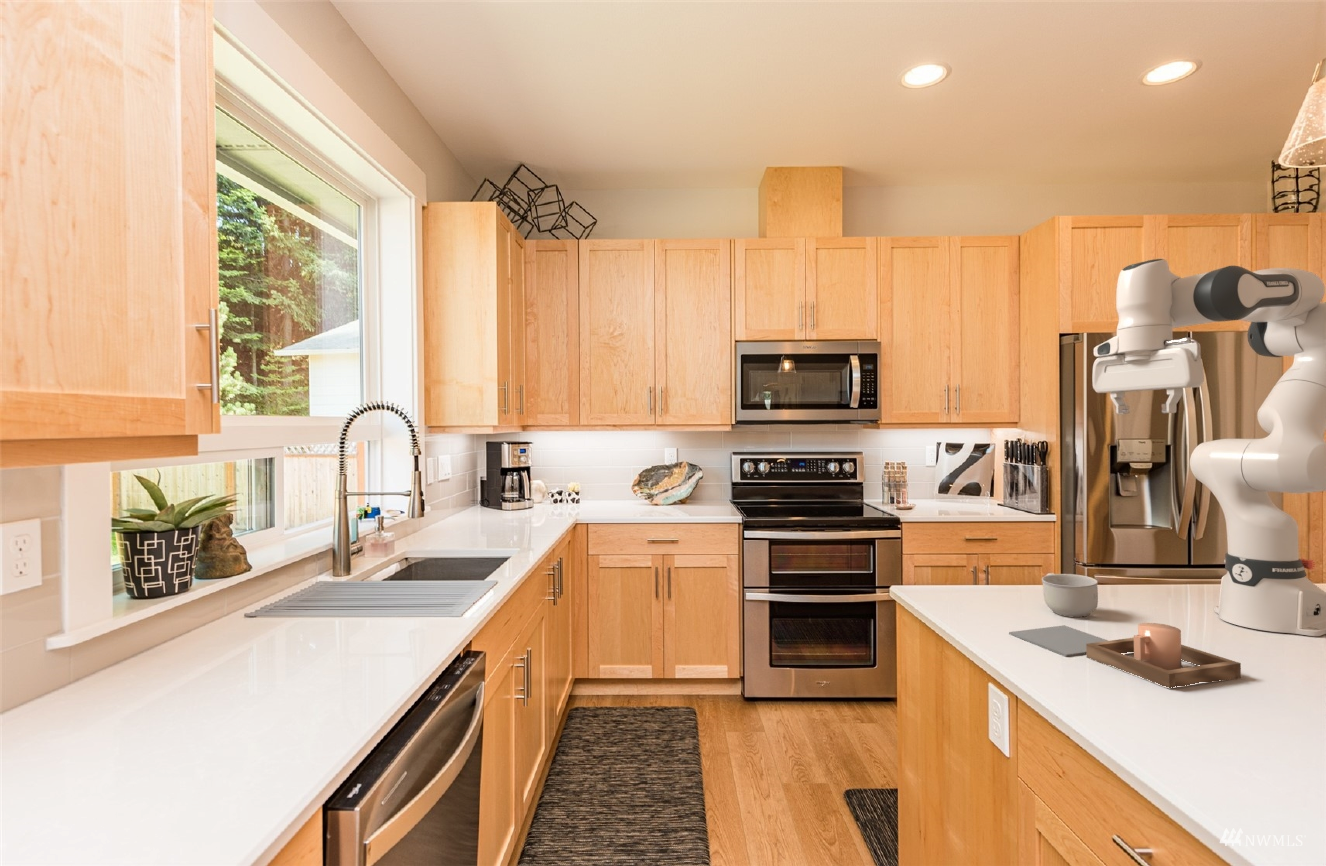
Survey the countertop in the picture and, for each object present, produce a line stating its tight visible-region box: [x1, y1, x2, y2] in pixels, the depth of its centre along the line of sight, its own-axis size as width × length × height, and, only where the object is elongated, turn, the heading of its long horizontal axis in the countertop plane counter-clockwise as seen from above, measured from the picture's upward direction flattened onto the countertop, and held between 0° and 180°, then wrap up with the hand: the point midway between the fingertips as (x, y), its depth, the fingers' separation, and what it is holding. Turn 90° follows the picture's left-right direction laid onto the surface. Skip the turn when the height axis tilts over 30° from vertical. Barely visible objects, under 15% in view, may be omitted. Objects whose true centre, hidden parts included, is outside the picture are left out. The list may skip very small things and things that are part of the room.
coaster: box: [1008, 625, 1109, 658], centre depth 129 cm, size 14×14×1 cm
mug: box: [1133, 622, 1183, 670], centre depth 114 cm, size 8×6×7 cm
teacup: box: [1041, 572, 1099, 618], centre depth 149 cm, size 14×11×8 cm
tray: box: [1085, 637, 1242, 688], centre depth 115 cm, size 15×15×2 cm
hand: (1145, 413), depth 127 cm, fingers open, 8 cm apart
